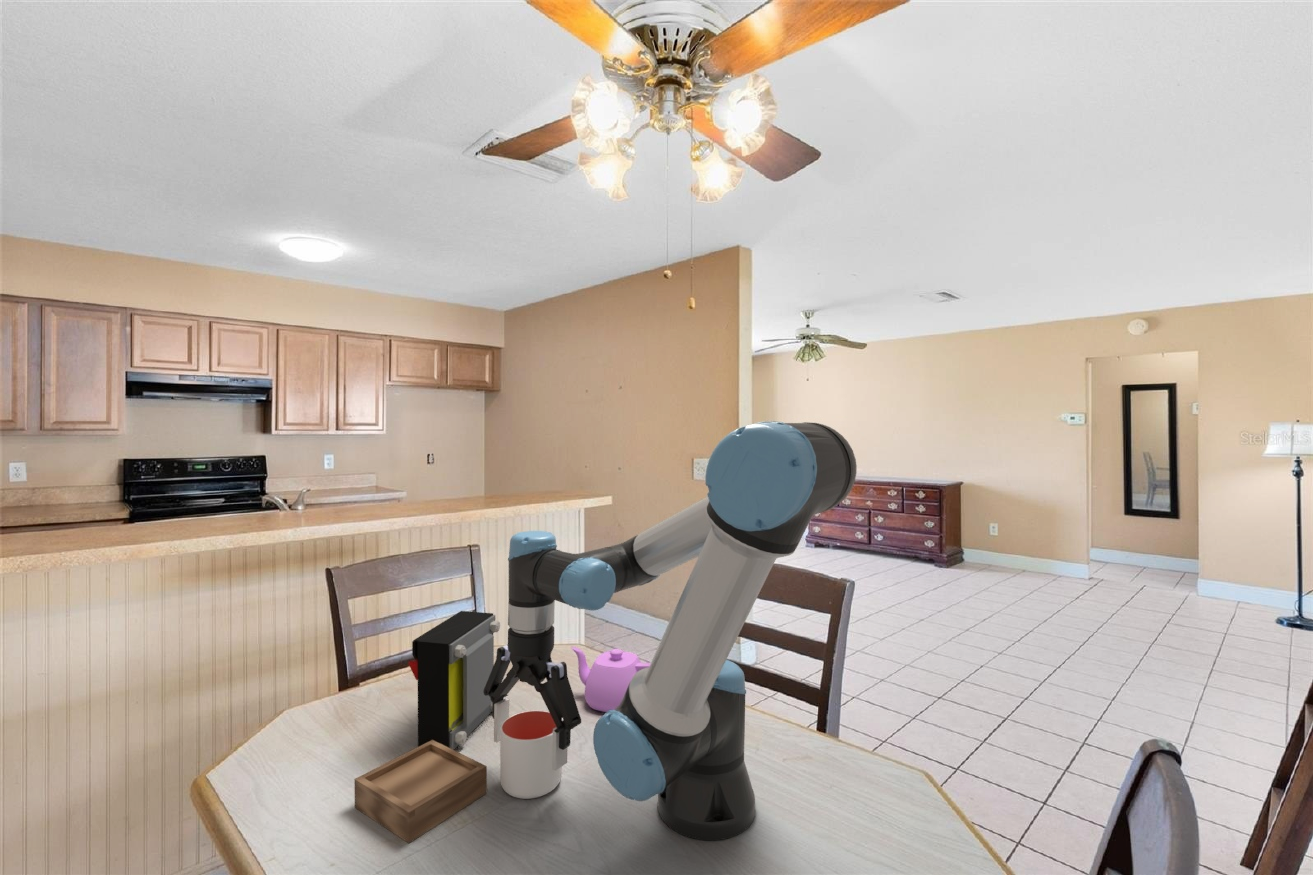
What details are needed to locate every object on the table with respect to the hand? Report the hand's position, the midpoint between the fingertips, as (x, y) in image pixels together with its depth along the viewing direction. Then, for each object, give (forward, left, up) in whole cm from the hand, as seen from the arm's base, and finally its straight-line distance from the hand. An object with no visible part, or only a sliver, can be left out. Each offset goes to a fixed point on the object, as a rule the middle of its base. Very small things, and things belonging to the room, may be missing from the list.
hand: (529, 752), depth 101 cm
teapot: (+7, -31, -5) cm, 32 cm away
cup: (0, 0, -5) cm, 5 cm away
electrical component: (+25, -5, -5) cm, 26 cm away
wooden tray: (+11, +13, -5) cm, 18 cm away
